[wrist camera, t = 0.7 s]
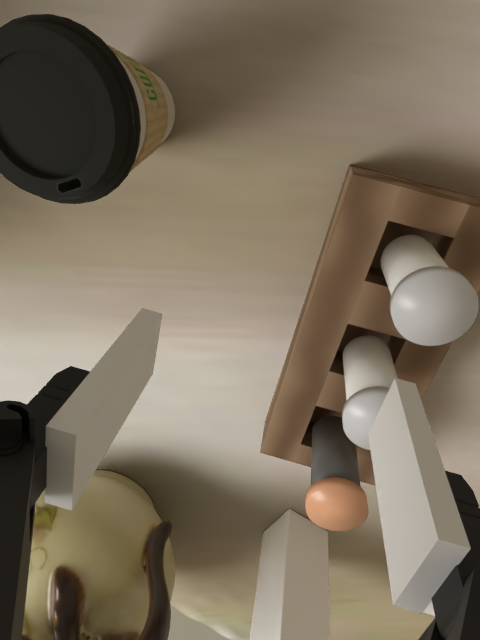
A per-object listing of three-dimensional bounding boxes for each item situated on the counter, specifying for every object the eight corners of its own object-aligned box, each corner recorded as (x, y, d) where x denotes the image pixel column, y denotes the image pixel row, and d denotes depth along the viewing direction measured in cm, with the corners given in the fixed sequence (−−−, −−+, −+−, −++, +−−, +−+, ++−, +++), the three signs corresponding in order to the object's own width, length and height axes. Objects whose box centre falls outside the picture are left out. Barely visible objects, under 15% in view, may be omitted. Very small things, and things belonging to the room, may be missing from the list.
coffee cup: (172, 20, 34) (78, -26, 21) (212, 153, 38) (155, 185, 25) (63, 64, 36) (-82, 48, 23) (111, 184, 40) (10, 228, 27)
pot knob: (301, 443, 44) (298, 521, 36) (316, 406, 42) (315, 480, 34) (349, 457, 44) (355, 537, 36) (366, 420, 42) (377, 498, 34)
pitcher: (24, 524, 65) (-124, 745, 43) (44, 405, 54) (-141, 620, 32) (168, 576, 66) (96, 820, 44) (217, 469, 55) (153, 723, 33)
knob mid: (330, 370, 40) (333, 439, 32) (348, 325, 37) (356, 387, 30) (383, 385, 40) (399, 458, 32) (404, 340, 37) (427, 407, 29)
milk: (289, 507, 55) (273, 730, 36) (329, 531, 56) (334, 761, 37) (262, 532, 58) (233, 751, 39) (300, 554, 59) (291, 780, 39)
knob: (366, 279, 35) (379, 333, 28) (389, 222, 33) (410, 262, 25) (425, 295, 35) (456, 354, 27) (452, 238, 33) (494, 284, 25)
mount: (265, 420, 50) (260, 452, 45) (349, 164, 36) (353, 174, 32) (370, 450, 49) (375, 485, 45) (494, 202, 36) (518, 217, 32)
